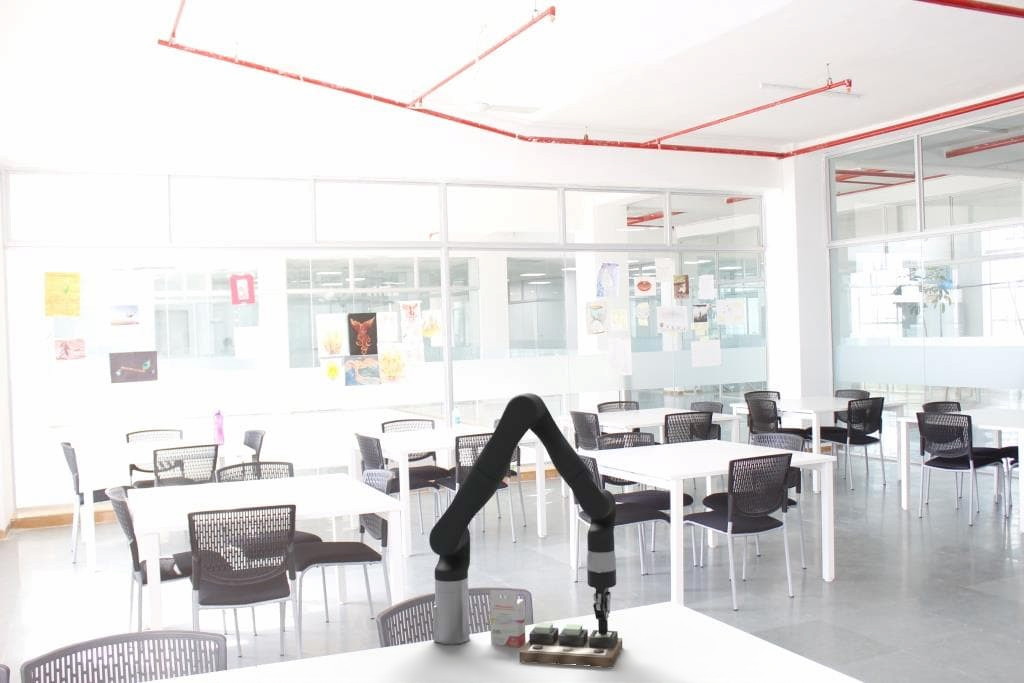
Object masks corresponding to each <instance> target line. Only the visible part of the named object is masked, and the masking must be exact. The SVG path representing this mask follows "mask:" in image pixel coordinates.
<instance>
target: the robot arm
mask: <svg viewBox="0 0 1024 683" xmlns="http://www.w3.org/2000/svg"><path fill="white" fill-rule="evenodd" d="M529 430H530V431H531V432H532V433H534V435H535V436H536V437H537V439H539V441H540V442H541V443H542V445H543V446H544V448H545V450H546V452H547V454H548V457H549V459H550V460H551V462H552V465H553V466H554V468H555V469H556V471H557V472H558V474H559V476H560V477H561V479H562V480H564V482H565V483H566V485H567V486H568V487H569V489H571V491H572V492H573V495H574V497H575V498H576V500H577V503H578V505H579V506H580V508H581V510H582V511H583V512H584V513H585V515H587V516H588V517H589V518H590V526H589V528H588V531H587V554H586V570H587V571H586V572H587V573H586V574H587V575H586V576H587V586H589V587H590V588H594V589H595V593H593V601H594V603H593V605H592V606H593V611H594V615H595V616H594V617H595V619H596V620H597V621H598V622H597V623H598V625H597V626H598V627H597V628H598V630H599V634H607V632H608V631H609V622H608V619H609V617H610V615H609V614H610V613H611V611H610V610H611V600H612V599H611V598H612V592H611V591H610V589H611V588H614V587H615V586H616V585H617V563H616V562H617V558H616V554H615V553H616V552H615V551H616V550H615V536H614V535H615V533H614V531H615V525H616V517H617V515H616V514H617V504H616V503H617V502H616V498H615V496H614V495H613V493H612V492H611V491H610V490H608V489H605V488H604V489H600V488H599V487H598V486H597V484H596V483H595V481H594V474H593V473H592V471H591V469H590V468H589V467H588V466H587V464H586V463H585V461H584V460H583V459H582V458H581V456H579V454H578V453H577V452H576V451H575V449H574V448H573V447H572V445H571V444H570V442H569V441H568V440H567V438H566V436H564V434H563V432H562V431H561V429H560V428H559V426H558V425H557V422H556V421H555V419H554V418H553V415H552V414H551V412H550V410H549V409H548V406H547V405H546V403H545V402H544V400H543V399H542V398H541V397H540V396H539V395H537V394H535V393H531V392H530V393H522V394H518V395H514V396H513V397H512V398H510V400H509V401H508V402H507V404H506V407H505V409H504V410H503V413H502V415H501V417H500V419H499V422H498V424H497V426H496V428H495V430H494V431H493V433H492V435H491V436H490V438H489V439H488V440H487V442H486V443H485V445H484V447H483V448H482V450H481V452H480V453H479V454H478V456H477V458H476V459H475V461H474V462H473V463H472V466H471V467H470V469H469V471H468V473H466V476H465V477H464V479H463V481H462V483H461V485H460V486H459V487H458V490H457V492H456V494H455V496H454V498H453V499H452V501H451V503H450V505H449V506H448V507H447V509H446V510H445V512H444V513H443V514H442V516H440V518H439V519H438V520H437V521H436V523H435V525H434V526H433V527H432V528H431V530H430V533H429V538H428V542H429V547H430V549H431V550H432V552H433V553H435V555H438V556H439V558H438V562H437V564H436V566H435V568H434V594H435V595H434V596H435V599H434V602H435V605H434V606H433V607H432V620H433V621H432V622H433V623H432V624H433V642H435V643H439V644H443V645H460V644H463V643H467V642H468V641H469V640H470V631H471V630H470V607H469V604H470V603H469V600H470V599H469V578H468V577H469V574H468V573H469V568H470V564H471V535H470V534H471V533H470V530H469V525H470V524H471V522H472V520H473V518H474V517H475V516H476V515H477V514H478V513H479V512H480V511H481V510H482V509H483V507H484V506H485V505H487V503H488V502H489V501H490V500H491V498H493V496H494V495H495V494H496V492H497V490H498V489H499V488H500V486H501V484H502V482H503V480H504V479H505V478H506V476H507V474H508V471H509V469H510V466H511V463H512V458H513V455H514V452H515V449H516V448H517V447H518V444H519V443H520V442H521V440H522V438H523V437H524V436H525V435H526V433H527V432H528V431H529Z"/></svg>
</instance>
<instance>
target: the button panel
mask: <svg viewBox="0 0 1024 683" xmlns="http://www.w3.org/2000/svg"><path fill="white" fill-rule="evenodd" d="M588 631H589V630H588V629H584V628H582V634H581V636H575V635H564V628H563V629H562V630H561V632H560V631H559V627H553V632H552V633H551V634H540V633H535V627H534V628H533V629H532V630H531V631H530V633H529V637H528V638H529V639H528V641H527V642H525V645H524V646H523V647H522V648H521V649H520V651H519V662H520V661H524V662H523V663H530V662H537V663H536V664H546V663H556V664H555V665H561V664H576V665H590V666H589V667H591V666H601V667H600V668H606V667H613V668H614V666H613V665H615V664H616V662H615V661H617V660H616V659H618V658H617V657H619V656H618V655H620V654H621V652H620V651H622V650H623V638H622V637H618V634H619V633H618V631H617V630H608V632H612V637H611V638H610V637H594V636H595V635H596V633H597V632H599V629H593V630H592V632H591V633H590V635H589V632H588ZM559 632H560V633H559ZM621 649H622V650H621ZM619 653H620V654H619ZM558 663H559V664H558ZM614 663H615V664H614ZM576 665H575V666H576Z"/></svg>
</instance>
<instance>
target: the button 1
mask: <svg viewBox="0 0 1024 683" xmlns="http://www.w3.org/2000/svg"><path fill="white" fill-rule="evenodd" d="M534 628H535V633H540V634H551V633H552V632H553V628H554V623H550V622H547V623H546V622H538V623H537V624H536V625H535V626H534Z"/></svg>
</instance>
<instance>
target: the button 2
mask: <svg viewBox="0 0 1024 683" xmlns="http://www.w3.org/2000/svg"><path fill="white" fill-rule="evenodd" d="M594 637H610V638H611V637H612V632H607V634H599V632H597V633H596V635H595V636H594Z"/></svg>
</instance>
